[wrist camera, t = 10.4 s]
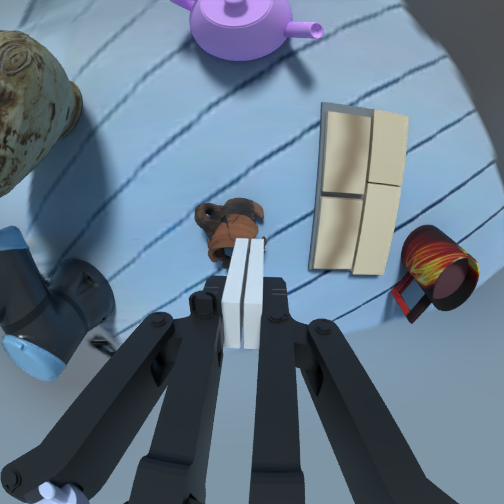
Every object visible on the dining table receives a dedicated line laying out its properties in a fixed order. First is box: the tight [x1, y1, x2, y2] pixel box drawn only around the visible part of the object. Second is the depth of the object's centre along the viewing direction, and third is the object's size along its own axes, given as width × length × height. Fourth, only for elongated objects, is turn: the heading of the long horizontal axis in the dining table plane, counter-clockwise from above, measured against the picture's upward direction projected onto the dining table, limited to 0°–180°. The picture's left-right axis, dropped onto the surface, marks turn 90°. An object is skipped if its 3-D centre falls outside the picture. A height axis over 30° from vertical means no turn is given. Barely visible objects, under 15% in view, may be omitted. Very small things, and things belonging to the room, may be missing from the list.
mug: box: [391, 225, 479, 324], centre depth 39 cm, size 10×14×12 cm
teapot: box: [170, 0, 324, 61], centre depth 24 cm, size 14×20×11 cm
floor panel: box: [308, 102, 409, 275], centre depth 38 cm, size 13×26×2 cm, turn 179°
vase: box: [0, 30, 82, 197], centre depth 21 cm, size 23×23×30 cm
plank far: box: [313, 196, 363, 269], centre depth 41 cm, size 6×11×1 cm, turn 179°
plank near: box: [321, 111, 371, 194], centre depth 35 cm, size 6×11×1 cm, turn 179°
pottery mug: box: [195, 198, 267, 269], centre depth 41 cm, size 12×10×8 cm
